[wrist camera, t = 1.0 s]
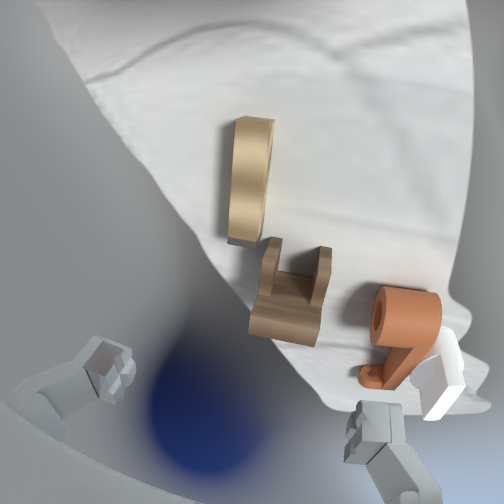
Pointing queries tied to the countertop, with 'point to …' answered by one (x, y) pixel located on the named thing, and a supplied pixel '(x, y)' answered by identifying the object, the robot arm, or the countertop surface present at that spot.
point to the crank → (401, 334)
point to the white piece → (439, 375)
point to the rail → (249, 180)
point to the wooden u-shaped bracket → (290, 299)
